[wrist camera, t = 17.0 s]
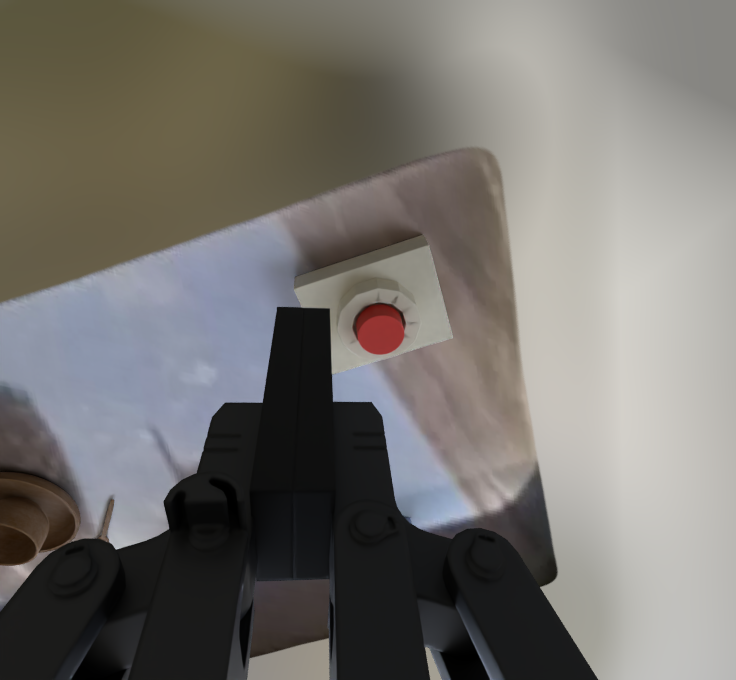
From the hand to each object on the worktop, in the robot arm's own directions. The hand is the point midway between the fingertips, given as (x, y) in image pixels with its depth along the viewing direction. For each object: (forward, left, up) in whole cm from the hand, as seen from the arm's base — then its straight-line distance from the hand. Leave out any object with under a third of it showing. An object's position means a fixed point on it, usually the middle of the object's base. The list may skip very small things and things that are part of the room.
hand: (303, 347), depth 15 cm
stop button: (+9, +9, -21) cm, 24 cm away
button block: (+9, +9, -24) cm, 28 cm away
